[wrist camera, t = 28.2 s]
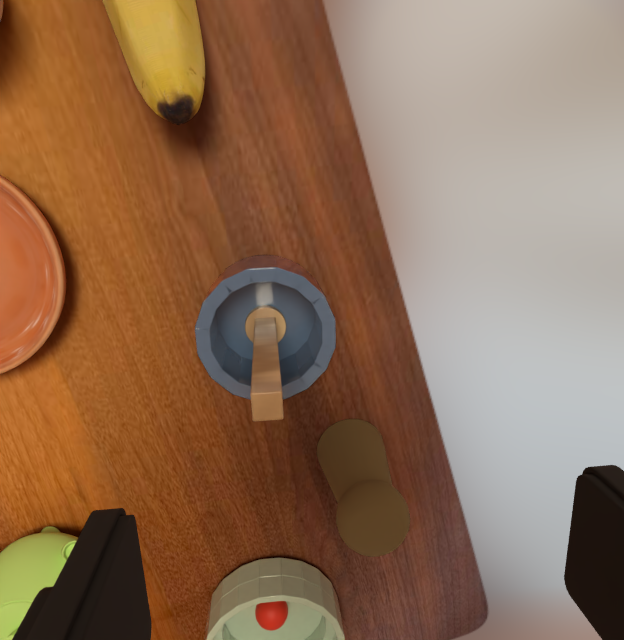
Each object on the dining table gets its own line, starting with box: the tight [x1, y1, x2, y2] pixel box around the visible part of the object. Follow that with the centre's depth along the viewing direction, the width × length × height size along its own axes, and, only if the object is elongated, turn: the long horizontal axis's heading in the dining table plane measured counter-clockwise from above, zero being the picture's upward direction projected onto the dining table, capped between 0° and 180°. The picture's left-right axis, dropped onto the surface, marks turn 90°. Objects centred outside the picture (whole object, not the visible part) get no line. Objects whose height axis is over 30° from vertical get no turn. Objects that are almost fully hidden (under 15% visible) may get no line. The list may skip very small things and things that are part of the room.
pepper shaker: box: [317, 419, 410, 557], centre depth 39 cm, size 6×6×11 cm
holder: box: [195, 255, 336, 400], centre depth 37 cm, size 10×10×6 cm
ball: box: [255, 601, 288, 631], centre depth 45 cm, size 3×3×3 cm
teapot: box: [0, 526, 78, 640], centre depth 40 cm, size 11×12×8 cm
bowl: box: [204, 558, 345, 640], centre depth 46 cm, size 12×12×5 cm
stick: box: [245, 305, 286, 421], centre depth 32 cm, size 3×3×15 cm
